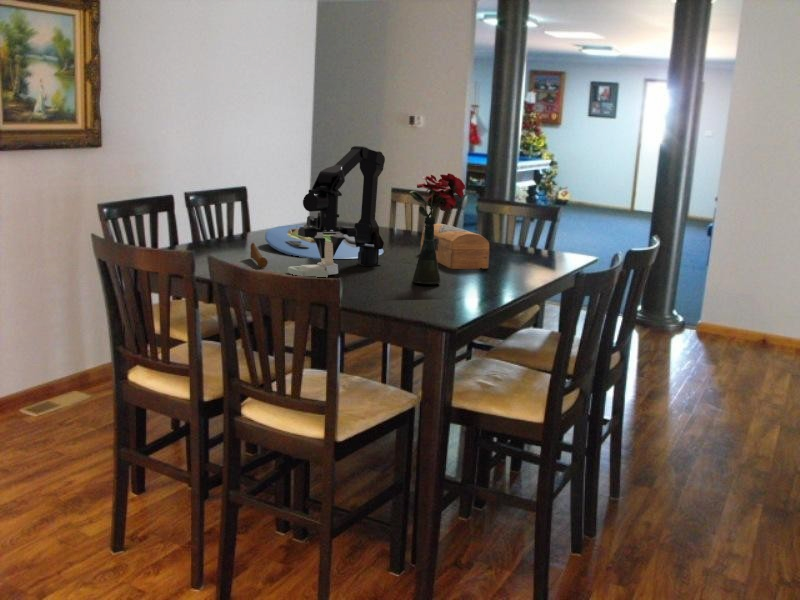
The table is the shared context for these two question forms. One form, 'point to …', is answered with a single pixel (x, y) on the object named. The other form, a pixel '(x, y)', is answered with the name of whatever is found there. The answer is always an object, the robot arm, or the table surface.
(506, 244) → the table surface
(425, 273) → the carnation
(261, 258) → the primitive tool
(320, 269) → the tile
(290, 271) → the bay
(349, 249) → the serving platter
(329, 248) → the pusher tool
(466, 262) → the wooden box
